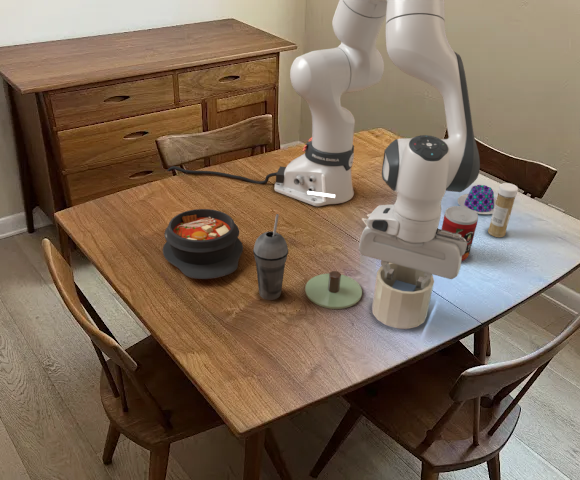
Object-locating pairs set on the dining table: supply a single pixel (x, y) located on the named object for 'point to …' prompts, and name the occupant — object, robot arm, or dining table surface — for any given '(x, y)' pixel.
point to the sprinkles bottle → (502, 209)
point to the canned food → (461, 224)
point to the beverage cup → (270, 262)
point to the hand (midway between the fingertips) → (404, 282)
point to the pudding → (479, 199)
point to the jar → (401, 298)
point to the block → (404, 286)
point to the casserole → (203, 243)
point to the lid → (333, 290)
